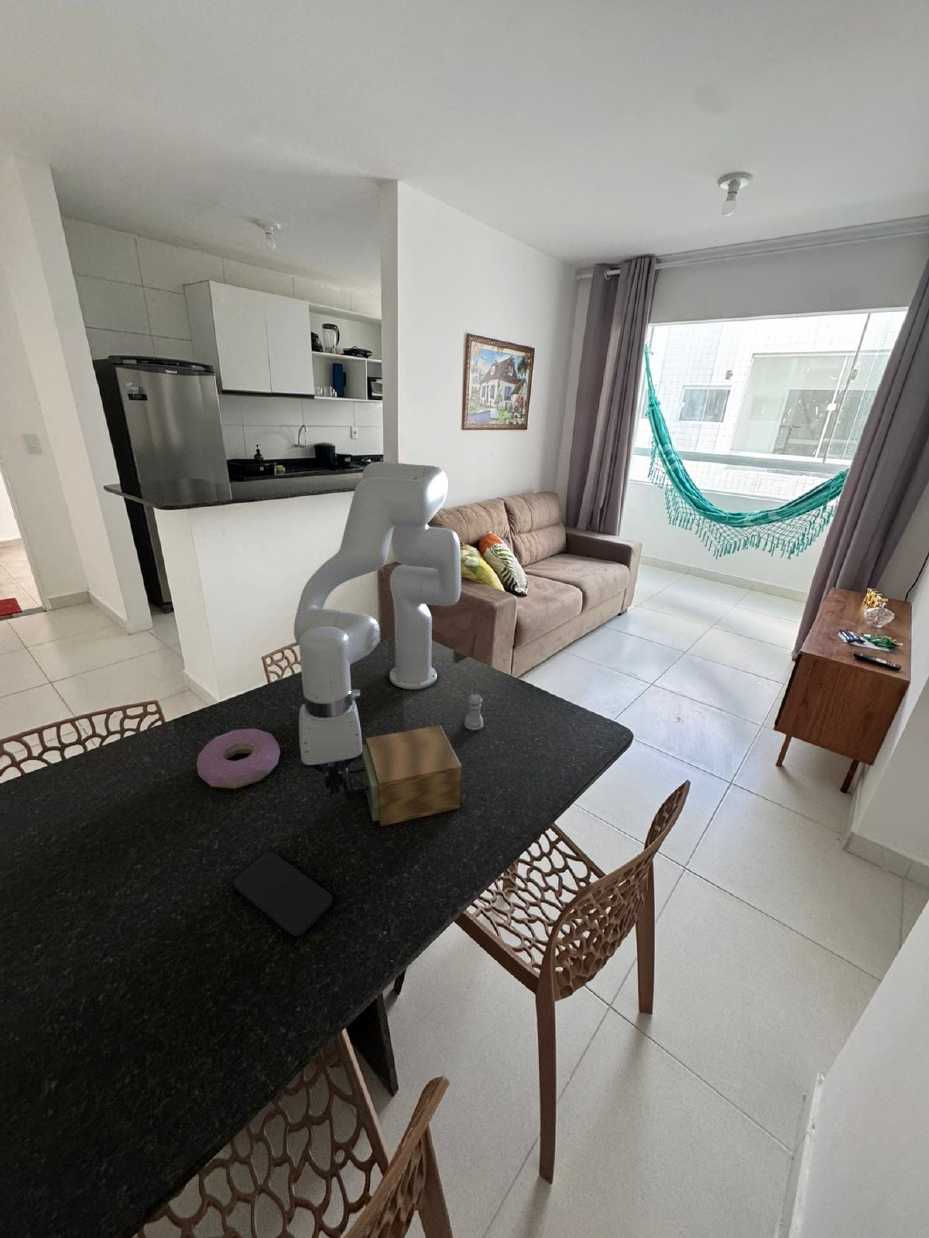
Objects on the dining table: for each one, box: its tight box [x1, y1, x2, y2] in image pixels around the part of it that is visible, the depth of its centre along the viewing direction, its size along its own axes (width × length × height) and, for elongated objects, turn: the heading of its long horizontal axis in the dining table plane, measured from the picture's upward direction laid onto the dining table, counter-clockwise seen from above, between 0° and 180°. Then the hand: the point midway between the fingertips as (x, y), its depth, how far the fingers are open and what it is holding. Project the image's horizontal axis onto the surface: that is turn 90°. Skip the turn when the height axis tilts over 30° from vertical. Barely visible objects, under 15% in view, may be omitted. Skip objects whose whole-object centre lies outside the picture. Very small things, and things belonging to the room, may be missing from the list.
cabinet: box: [365, 724, 462, 827], centre depth 96 cm, size 15×13×10 cm
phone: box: [232, 851, 333, 937], centre depth 77 cm, size 7×1×15 cm
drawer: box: [342, 743, 380, 822], centre depth 95 cm, size 18×12×8 cm, turn 110°
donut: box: [196, 728, 281, 790], centre depth 102 cm, size 16×15×5 cm
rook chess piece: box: [463, 692, 484, 732], centre depth 117 cm, size 4×4×8 cm
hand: (334, 788), depth 91 cm, fingers closed
